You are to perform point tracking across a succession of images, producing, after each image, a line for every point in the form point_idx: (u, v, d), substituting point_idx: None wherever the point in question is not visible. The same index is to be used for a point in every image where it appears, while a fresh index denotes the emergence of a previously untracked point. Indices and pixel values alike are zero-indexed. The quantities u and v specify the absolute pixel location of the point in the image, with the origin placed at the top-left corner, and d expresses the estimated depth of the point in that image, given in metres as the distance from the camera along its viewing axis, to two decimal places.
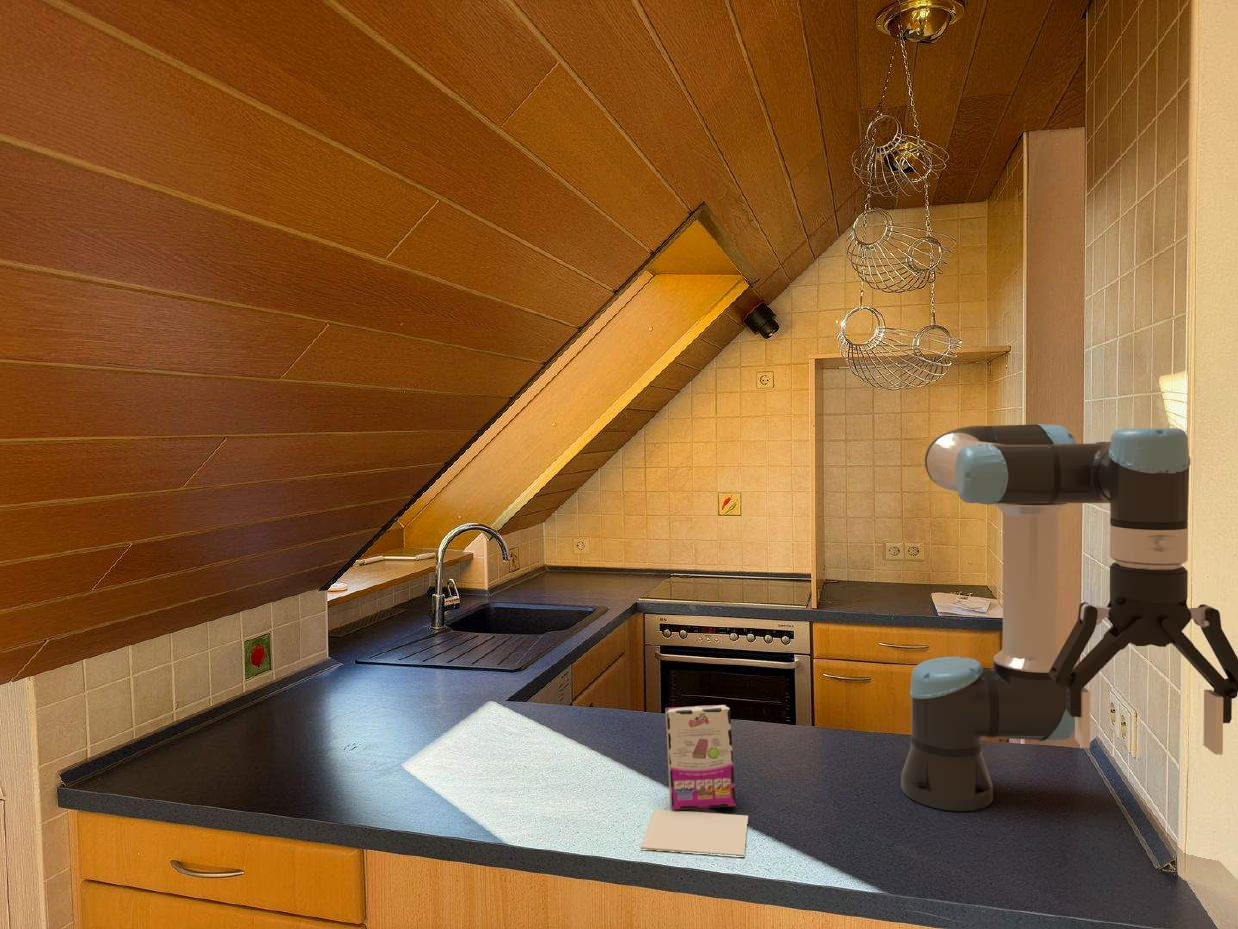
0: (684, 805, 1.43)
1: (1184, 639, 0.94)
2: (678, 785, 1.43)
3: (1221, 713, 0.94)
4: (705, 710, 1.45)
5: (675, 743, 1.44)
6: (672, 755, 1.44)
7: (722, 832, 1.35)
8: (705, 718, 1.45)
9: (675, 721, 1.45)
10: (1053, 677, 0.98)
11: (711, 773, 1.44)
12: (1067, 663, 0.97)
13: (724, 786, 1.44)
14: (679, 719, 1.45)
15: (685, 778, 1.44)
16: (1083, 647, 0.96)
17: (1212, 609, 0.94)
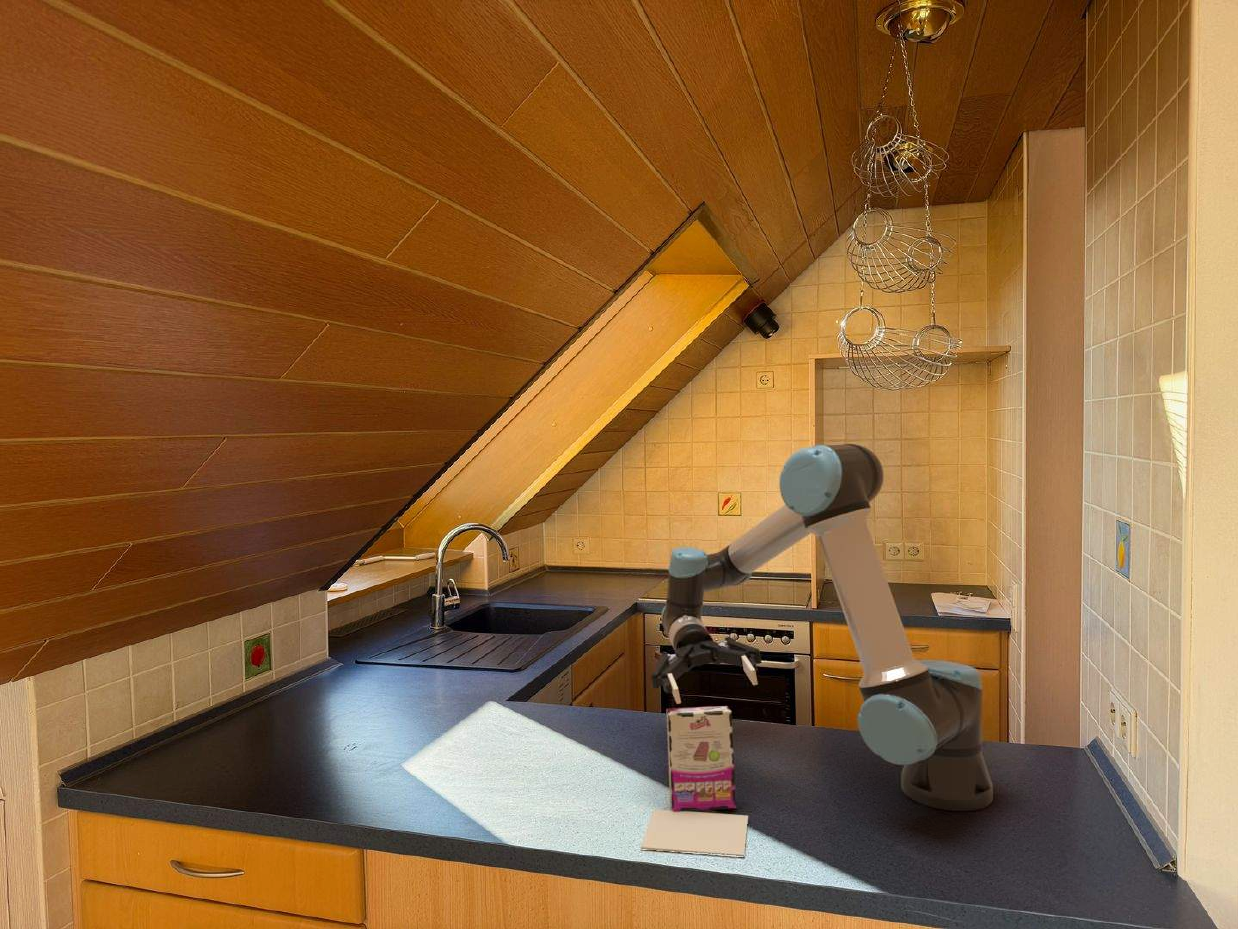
0: (684, 807, 1.43)
1: (714, 645, 1.56)
2: (678, 787, 1.43)
3: (746, 659, 1.49)
4: (706, 713, 1.44)
5: (676, 745, 1.44)
6: (672, 758, 1.44)
7: (722, 832, 1.35)
8: (706, 721, 1.44)
9: (676, 724, 1.44)
10: (651, 678, 1.51)
11: (712, 775, 1.43)
12: (655, 669, 1.52)
13: (724, 788, 1.43)
14: (680, 722, 1.44)
15: (686, 780, 1.43)
16: (663, 663, 1.54)
17: (726, 637, 1.60)
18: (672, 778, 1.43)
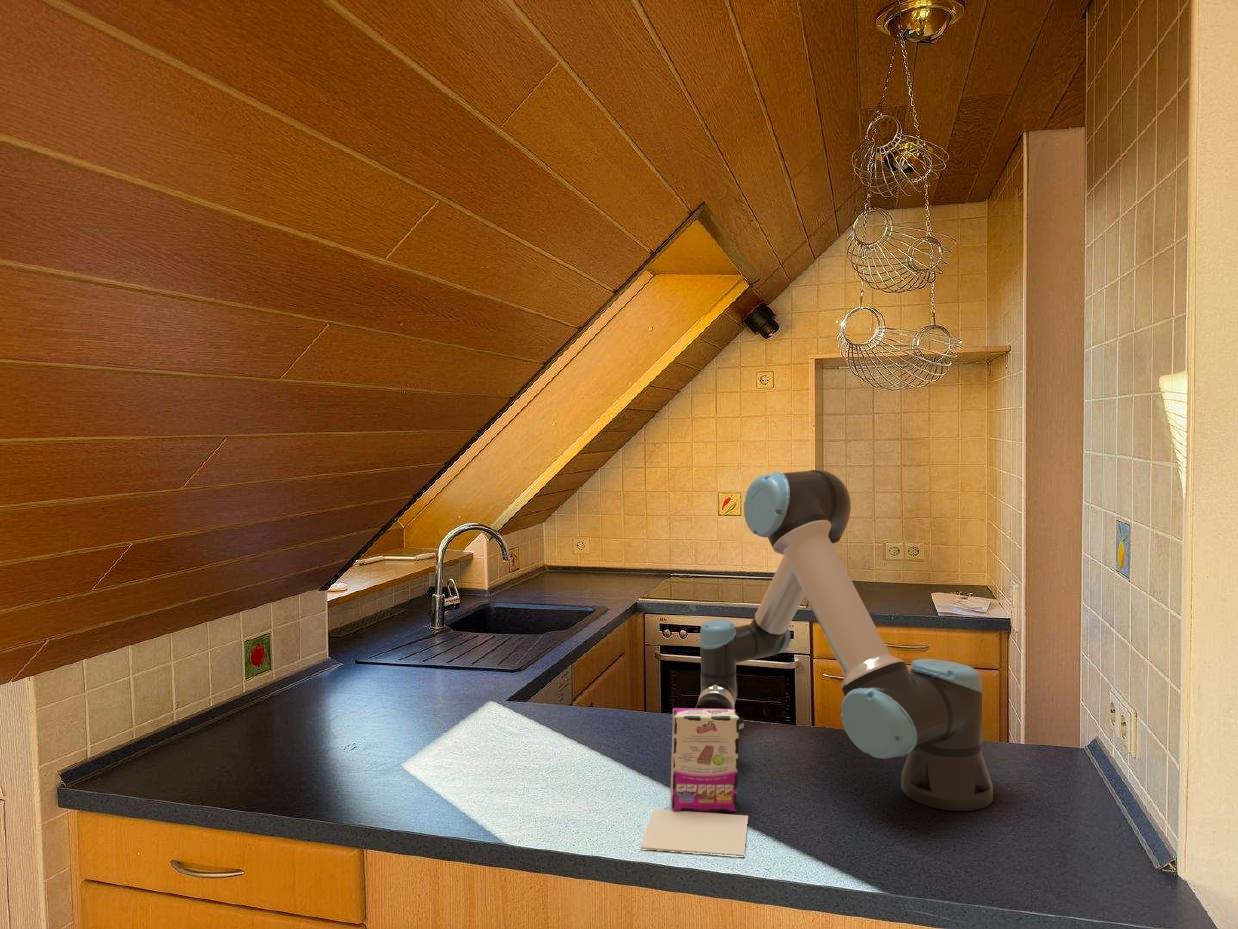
0: (685, 807, 1.43)
1: None
2: (680, 788, 1.43)
3: None
4: (714, 718, 1.42)
5: (681, 748, 1.42)
6: (676, 759, 1.43)
7: (722, 832, 1.35)
8: (713, 726, 1.42)
9: (682, 726, 1.42)
10: None
11: (715, 779, 1.43)
12: None
13: (726, 792, 1.43)
14: (687, 725, 1.42)
15: (688, 781, 1.43)
16: None
17: (741, 718, 1.63)
18: (674, 779, 1.43)
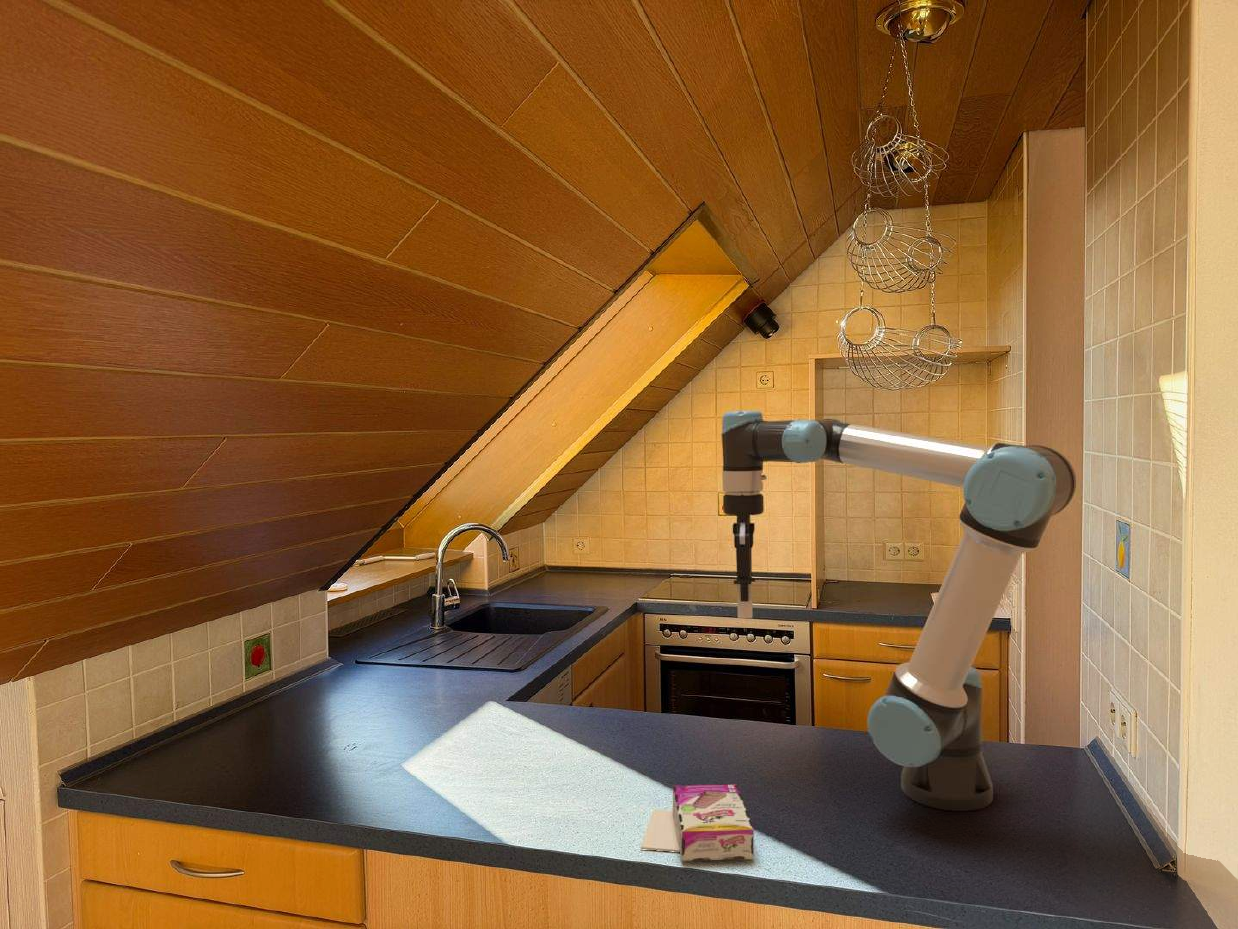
0: None
1: None
2: None
3: None
4: (725, 859, 1.27)
5: None
6: None
7: None
8: None
9: None
10: (746, 581, 1.55)
11: None
12: (750, 569, 1.55)
13: None
14: None
15: None
16: None
17: None
18: None
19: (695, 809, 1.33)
